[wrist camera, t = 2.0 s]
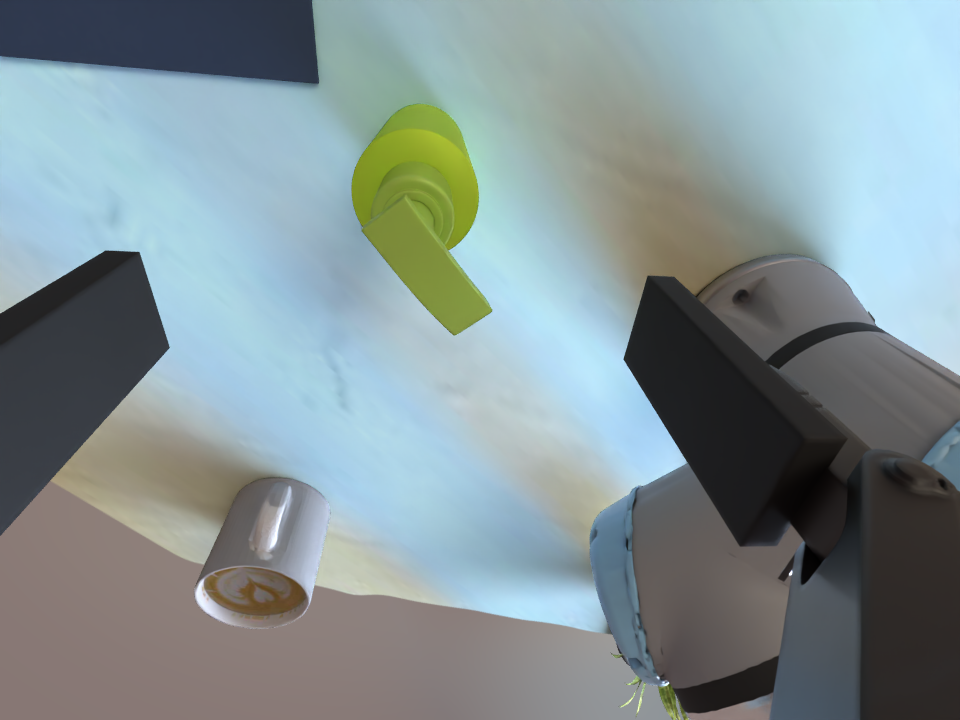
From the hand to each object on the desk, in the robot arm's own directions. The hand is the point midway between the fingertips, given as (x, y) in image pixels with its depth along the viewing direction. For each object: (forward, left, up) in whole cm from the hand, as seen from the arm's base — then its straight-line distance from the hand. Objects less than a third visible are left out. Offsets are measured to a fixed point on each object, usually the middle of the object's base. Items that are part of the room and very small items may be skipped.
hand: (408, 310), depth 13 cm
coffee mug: (-35, +14, -24) cm, 45 cm away
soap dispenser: (0, 0, -24) cm, 24 cm away
